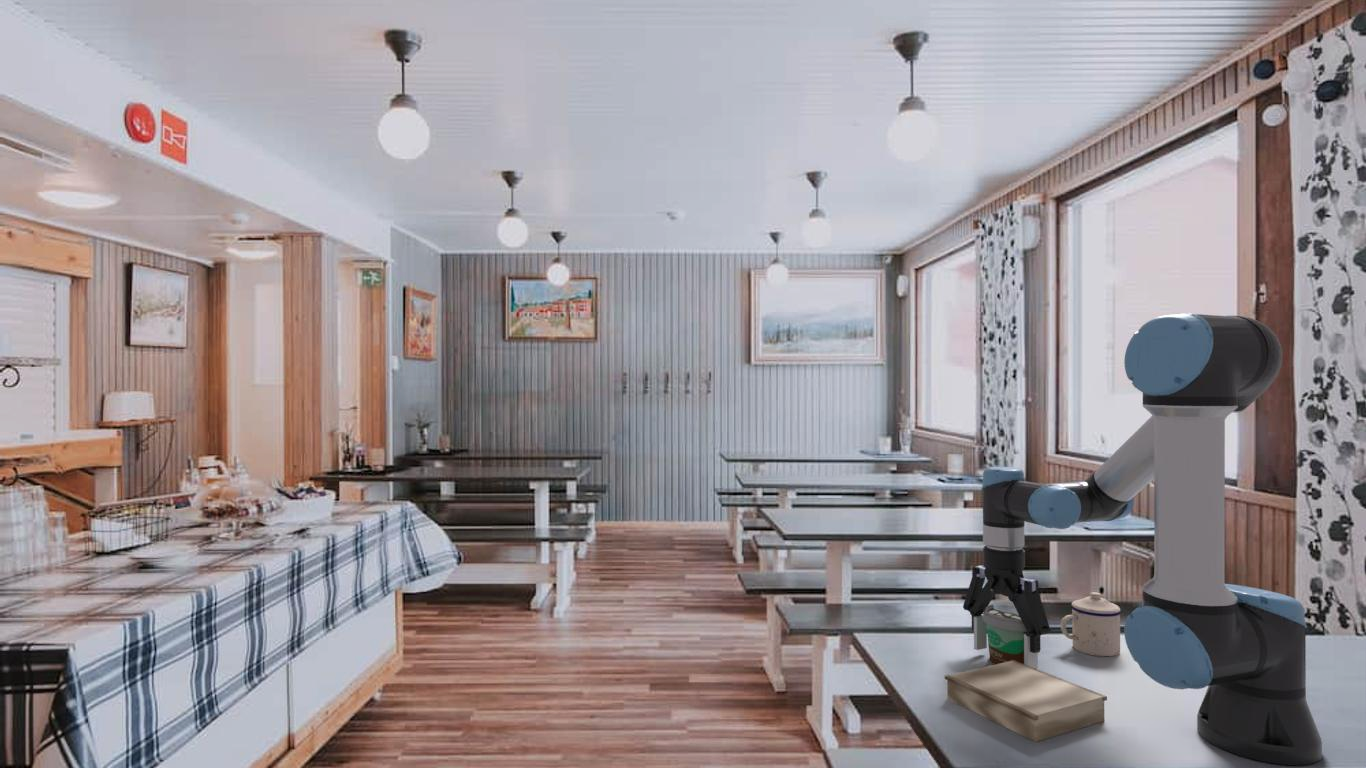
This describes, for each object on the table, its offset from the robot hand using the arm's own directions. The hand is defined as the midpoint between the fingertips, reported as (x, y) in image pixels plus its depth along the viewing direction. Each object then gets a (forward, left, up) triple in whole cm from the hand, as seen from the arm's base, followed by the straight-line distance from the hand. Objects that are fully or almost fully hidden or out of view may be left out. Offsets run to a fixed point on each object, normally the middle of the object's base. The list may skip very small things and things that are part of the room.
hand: (1004, 658), depth 148 cm
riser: (-16, +14, -1) cm, 21 cm away
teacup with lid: (-2, -22, -1) cm, 22 cm away
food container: (0, 0, -1) cm, 1 cm away
